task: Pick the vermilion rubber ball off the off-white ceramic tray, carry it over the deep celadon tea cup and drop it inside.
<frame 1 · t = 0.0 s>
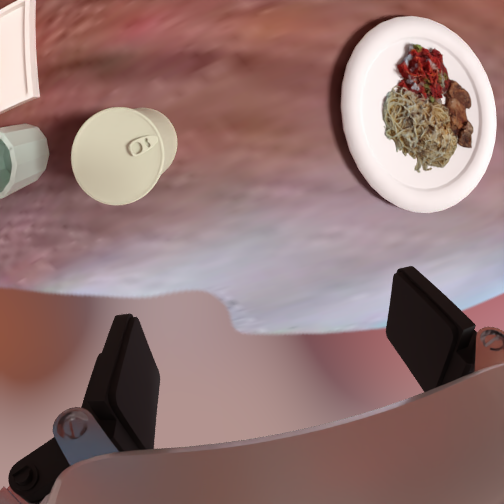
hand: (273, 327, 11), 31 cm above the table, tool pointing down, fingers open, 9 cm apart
can: (140, 144, 37), on the table
plated food: (426, 113, 39), on the table
cup: (24, 154, 34), on the table
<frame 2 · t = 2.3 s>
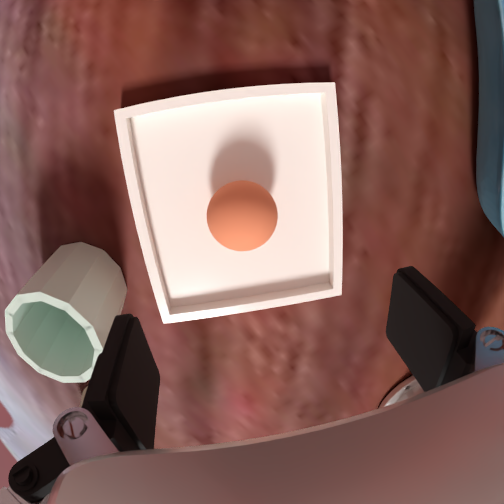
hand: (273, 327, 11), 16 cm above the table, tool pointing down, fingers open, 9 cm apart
cup: (84, 284, 27), on the table
tray: (238, 204, 26), on the table
ball: (239, 206, 25), point 1 cm above the table, touching tray
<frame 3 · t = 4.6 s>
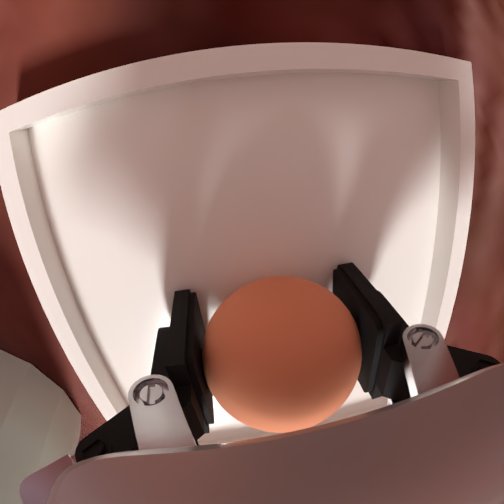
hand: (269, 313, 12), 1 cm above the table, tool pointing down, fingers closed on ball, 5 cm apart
cup: (19, 400, 14), on the table
tray: (265, 302, 13), on the table
ball: (268, 311, 12), point 1 cm above the table, touching gripper, tray
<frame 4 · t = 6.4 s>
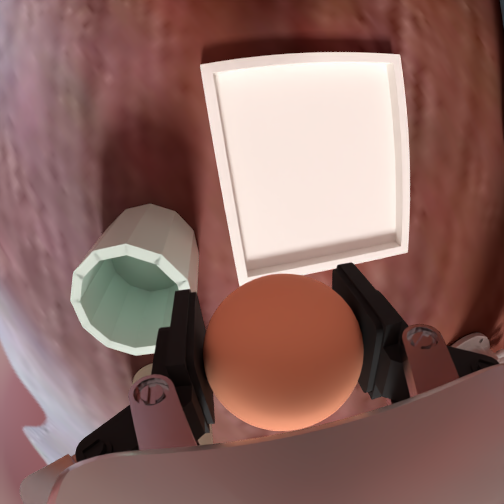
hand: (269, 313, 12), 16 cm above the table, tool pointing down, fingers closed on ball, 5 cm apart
can: (171, 388, 34), on the table
cup: (150, 251, 27), on the table
tray: (316, 163, 26), on the table
ball: (269, 309, 12), point 16 cm above the table, touching gripper
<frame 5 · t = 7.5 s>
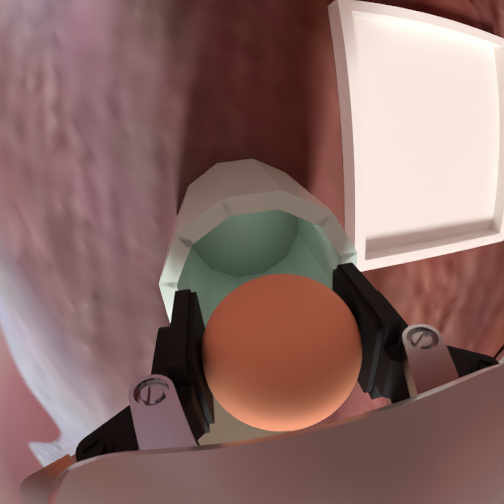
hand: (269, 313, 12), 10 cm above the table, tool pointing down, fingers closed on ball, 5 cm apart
can: (233, 399, 28), on the table
cup: (242, 223, 21), on the table
tray: (436, 134, 20), on the table
ball: (268, 309, 12), point 10 cm above the table, touching gripper
when the fingers open (10 cm above the table, at t = 8.2 s): ball drops 9 cm, resting on cup.
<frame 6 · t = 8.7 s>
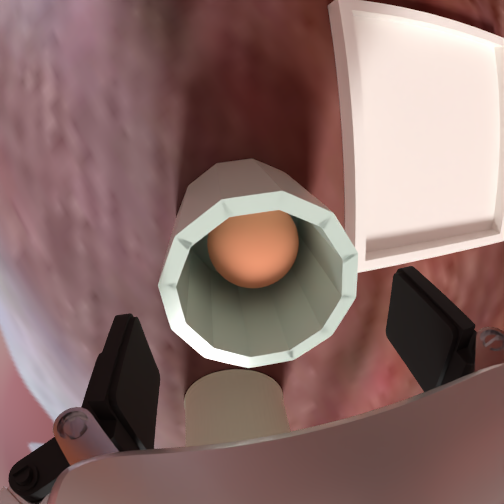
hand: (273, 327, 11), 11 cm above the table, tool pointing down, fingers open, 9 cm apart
can: (233, 400, 28), on the table
cup: (242, 223, 21), on the table
tray: (437, 134, 20), on the table
ball: (242, 228, 20), point 1 cm above the table, tilted 7°, touching cup
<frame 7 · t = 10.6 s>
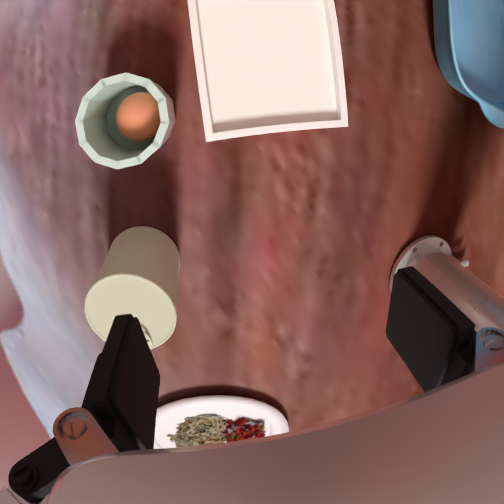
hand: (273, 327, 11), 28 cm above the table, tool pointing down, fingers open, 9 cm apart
can: (144, 260, 39), on the table
casserole dish: (469, 15, 30), on the table
plated food: (212, 433, 57), on the table
cup: (137, 117, 31), on the table
tray: (268, 54, 31), on the table
ball: (135, 118, 31), point 1 cm above the table, tilted 22°, touching cup
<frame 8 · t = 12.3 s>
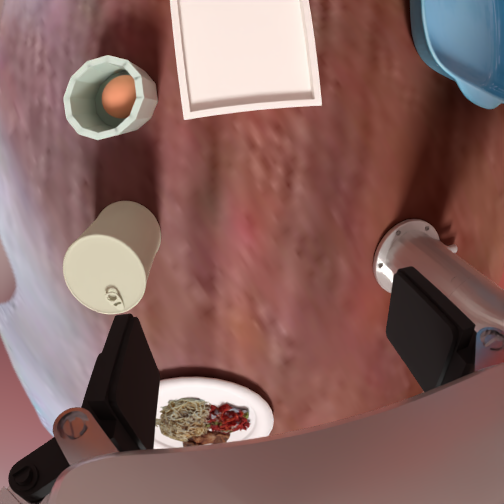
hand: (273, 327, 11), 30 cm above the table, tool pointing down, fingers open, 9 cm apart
can: (127, 234, 40), on the table
casserole dish: (451, 1, 31), on the table
plated food: (197, 420, 57), on the table
cup: (123, 99, 33), on the table
tray: (244, 40, 32), on the table
ball: (121, 99, 32), point 1 cm above the table, tilted 22°, touching cup
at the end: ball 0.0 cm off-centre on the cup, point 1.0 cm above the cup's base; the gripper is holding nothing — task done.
